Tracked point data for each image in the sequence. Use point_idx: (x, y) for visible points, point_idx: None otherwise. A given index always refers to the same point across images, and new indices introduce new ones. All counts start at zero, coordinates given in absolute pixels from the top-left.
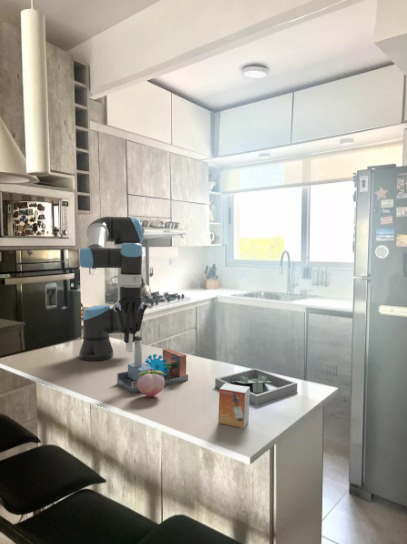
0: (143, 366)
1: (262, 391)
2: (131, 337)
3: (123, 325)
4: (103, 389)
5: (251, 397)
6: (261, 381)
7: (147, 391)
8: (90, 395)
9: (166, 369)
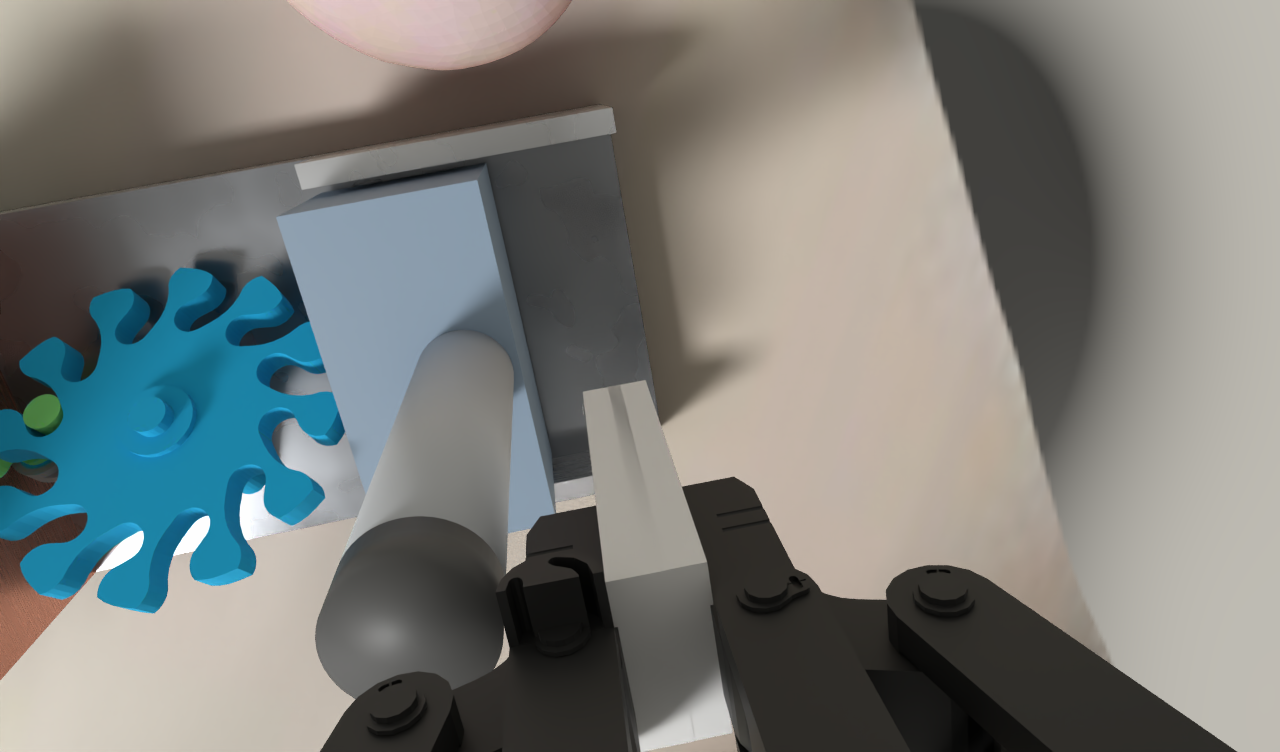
0: (391, 354)
1: None
2: (636, 523)
3: (1064, 742)
4: (810, 344)
5: None
6: None
7: None
8: (958, 247)
9: (61, 366)
